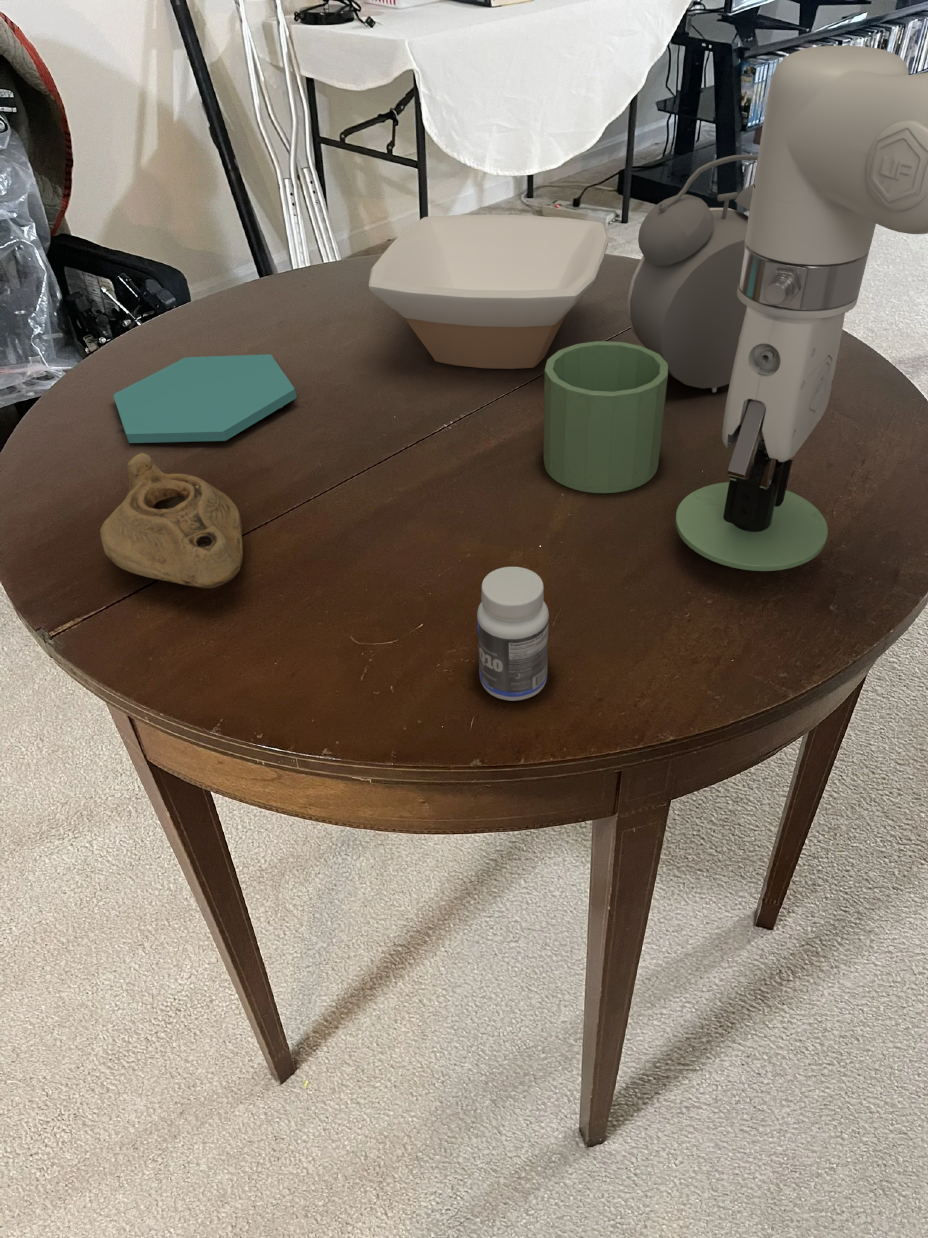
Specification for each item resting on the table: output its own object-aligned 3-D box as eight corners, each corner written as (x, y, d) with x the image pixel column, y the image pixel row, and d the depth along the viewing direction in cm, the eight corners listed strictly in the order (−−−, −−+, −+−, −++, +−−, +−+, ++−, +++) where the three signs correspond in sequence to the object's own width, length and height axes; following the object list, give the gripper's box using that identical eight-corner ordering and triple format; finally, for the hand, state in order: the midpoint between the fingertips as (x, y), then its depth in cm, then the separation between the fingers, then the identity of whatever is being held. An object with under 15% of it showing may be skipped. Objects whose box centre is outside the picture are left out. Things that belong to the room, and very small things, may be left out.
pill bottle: (468, 667, 66) (463, 573, 60) (528, 648, 67) (528, 554, 61) (497, 711, 62) (494, 616, 57) (559, 690, 64) (562, 594, 58)
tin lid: (707, 479, 79) (718, 408, 74) (843, 517, 74) (863, 444, 69) (650, 548, 72) (659, 475, 67) (797, 595, 67) (816, 520, 62)
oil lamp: (193, 638, 69) (166, 552, 64) (83, 564, 77) (52, 482, 72) (303, 568, 75) (286, 484, 70) (191, 506, 83) (169, 426, 78)
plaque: (84, 452, 93) (275, 449, 90) (77, 434, 92) (271, 431, 89) (149, 372, 106) (318, 368, 103) (144, 356, 105) (314, 351, 102)
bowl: (362, 386, 100) (350, 288, 93) (423, 298, 118) (417, 210, 111) (582, 401, 95) (587, 299, 88) (611, 307, 113) (616, 216, 106)
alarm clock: (750, 352, 102) (786, 132, 88) (795, 385, 96) (842, 154, 81) (613, 379, 98) (628, 154, 84) (651, 415, 92) (674, 179, 78)
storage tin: (576, 425, 91) (580, 332, 85) (675, 451, 87) (687, 355, 81) (523, 474, 85) (523, 377, 79) (627, 505, 80) (636, 405, 74)
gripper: (820, 333, 53) (763, 585, 65) (893, 243, 63) (833, 475, 75) (695, 308, 56) (663, 553, 68) (784, 226, 66) (743, 452, 78)
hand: (753, 510), depth 71 cm, fingers closed on tin lid, 3 cm apart
